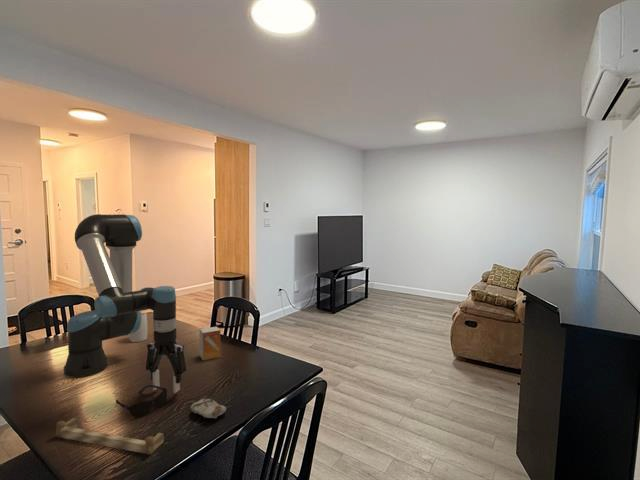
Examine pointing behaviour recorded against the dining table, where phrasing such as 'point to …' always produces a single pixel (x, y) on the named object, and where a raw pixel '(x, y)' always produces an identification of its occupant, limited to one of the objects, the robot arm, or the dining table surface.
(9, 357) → the dining table surface
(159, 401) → the sunglasses
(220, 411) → the stone
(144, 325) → the cup
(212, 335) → the small box
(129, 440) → the beige long bar
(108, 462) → the dining table surface
